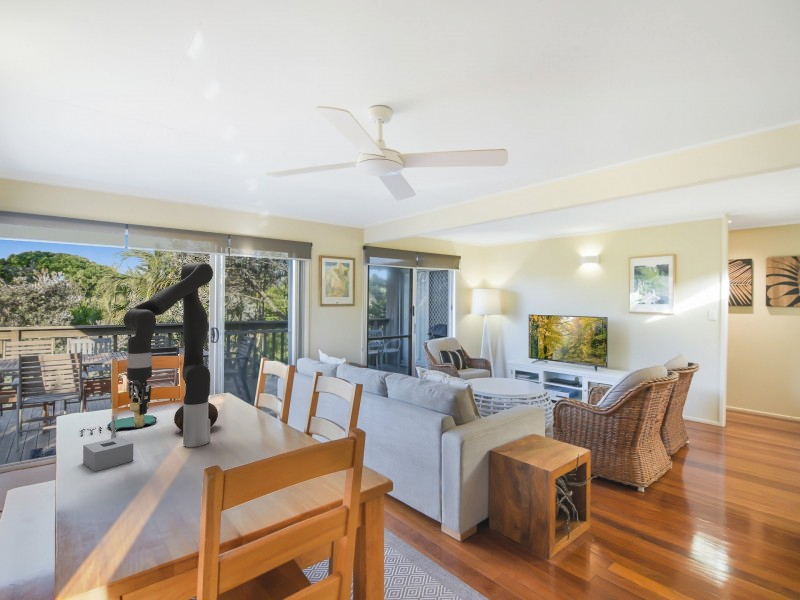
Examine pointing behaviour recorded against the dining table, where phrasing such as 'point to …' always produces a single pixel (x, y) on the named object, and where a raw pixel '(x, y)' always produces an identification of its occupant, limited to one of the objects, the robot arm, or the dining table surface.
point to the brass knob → (137, 414)
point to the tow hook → (113, 428)
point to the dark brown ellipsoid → (211, 415)
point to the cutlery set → (128, 423)
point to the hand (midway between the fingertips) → (139, 412)
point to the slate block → (107, 453)
